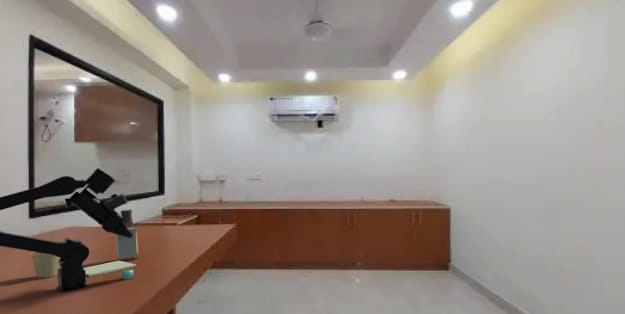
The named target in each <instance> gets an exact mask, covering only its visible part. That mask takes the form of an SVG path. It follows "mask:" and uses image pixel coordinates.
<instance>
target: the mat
mask: <svg viewBox="0 0 625 314" xmlns="http://www.w3.org/2000/svg"><path fill="white" fill-rule="evenodd" d="M134 266H135V267H137V264H135V263H131V262H126V261H124V260H115V261H112V262H111V261H110V262H107V263H101V264H97V265H92V266H87V267H83V268H84V270H85V273H86V276H87V275H88V276H87V277H93V276H92V275H95V276H98V275H97V274H99V275H103V273H104V274H107V273H113V272H117V271H123V270H126V269H130V267H131V268H134ZM125 268H126V269H125Z"/></svg>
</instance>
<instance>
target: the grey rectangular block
mask: <svg viewBox="0 0 625 314" xmlns="http://www.w3.org/2000/svg"><path fill="white" fill-rule="evenodd" d="M135 228H136V227H135ZM135 228H134V227H131V228H127V229H128V230H129V231H130V232H131V234H132V235H133V236H132V237H131V238H129V237H125V236H121V235H118V234H115V239H116V240H115V241H116V257H117V259H118V260H122V259H123V258H130V257H137V246H136V233H137V229H135Z"/></svg>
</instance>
